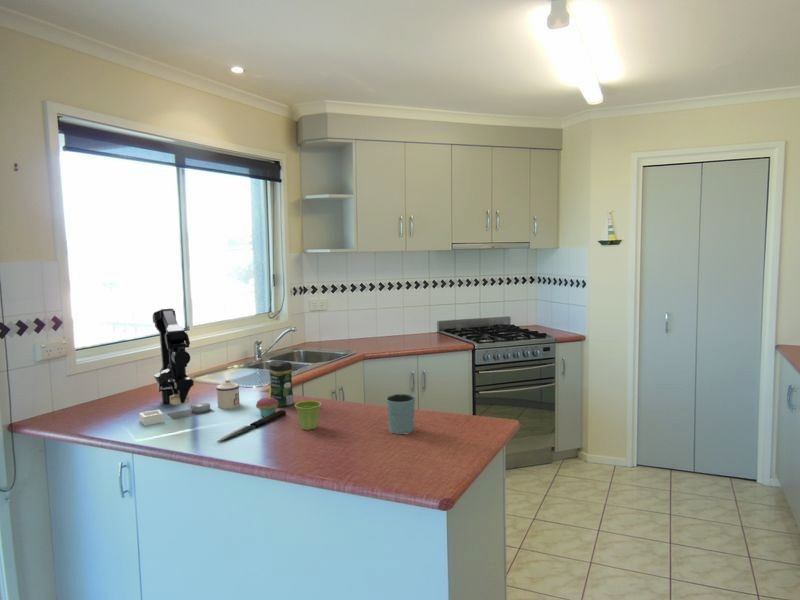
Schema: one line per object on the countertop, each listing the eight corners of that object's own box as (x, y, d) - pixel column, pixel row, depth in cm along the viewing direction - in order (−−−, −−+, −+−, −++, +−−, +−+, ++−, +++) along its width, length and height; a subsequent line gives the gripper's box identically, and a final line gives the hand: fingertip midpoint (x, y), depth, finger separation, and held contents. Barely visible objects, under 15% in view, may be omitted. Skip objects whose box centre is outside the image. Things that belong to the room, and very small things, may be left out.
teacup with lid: (238, 409, 227) (237, 381, 225) (215, 411, 225) (213, 383, 224) (242, 402, 238) (241, 375, 237) (220, 403, 237) (219, 376, 236)
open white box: (139, 423, 212) (139, 412, 211) (159, 419, 216) (158, 409, 215) (144, 427, 206) (143, 417, 206) (164, 423, 210) (163, 413, 210)
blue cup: (412, 425, 202) (411, 392, 201) (418, 434, 192) (418, 400, 191) (384, 427, 200) (383, 395, 199) (390, 437, 190) (389, 402, 189)
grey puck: (188, 410, 224) (188, 405, 224) (205, 407, 229) (205, 401, 229) (195, 414, 219) (195, 408, 219) (213, 410, 224) (213, 404, 223)
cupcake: (283, 413, 220) (282, 383, 219) (269, 419, 212) (268, 388, 211) (266, 411, 224) (264, 382, 223) (252, 417, 216) (250, 386, 215)
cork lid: (167, 402, 219) (166, 395, 219) (185, 398, 223) (185, 392, 223) (173, 405, 213) (173, 399, 213) (192, 402, 218) (191, 395, 218)
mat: (166, 415, 221) (166, 413, 221) (206, 408, 230) (206, 406, 230) (173, 421, 213) (173, 419, 213) (215, 413, 222) (215, 411, 222)
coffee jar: (267, 404, 233) (265, 361, 232) (282, 400, 239) (280, 357, 238) (281, 408, 227) (279, 363, 225) (296, 404, 233) (295, 360, 231)
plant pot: (326, 424, 205) (325, 401, 204) (314, 432, 196) (313, 408, 195) (303, 422, 208) (302, 399, 207) (290, 430, 199) (290, 406, 198)
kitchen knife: (275, 409, 220) (285, 410, 218) (275, 414, 220) (286, 415, 218) (211, 437, 188) (222, 439, 186) (211, 444, 188) (222, 445, 186)
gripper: (149, 361, 219) (151, 400, 221) (162, 368, 205) (164, 410, 206) (178, 357, 226) (180, 395, 228) (192, 364, 211) (195, 404, 213)
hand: (179, 401), depth 218 cm, fingers closed on cork lid, 7 cm apart
